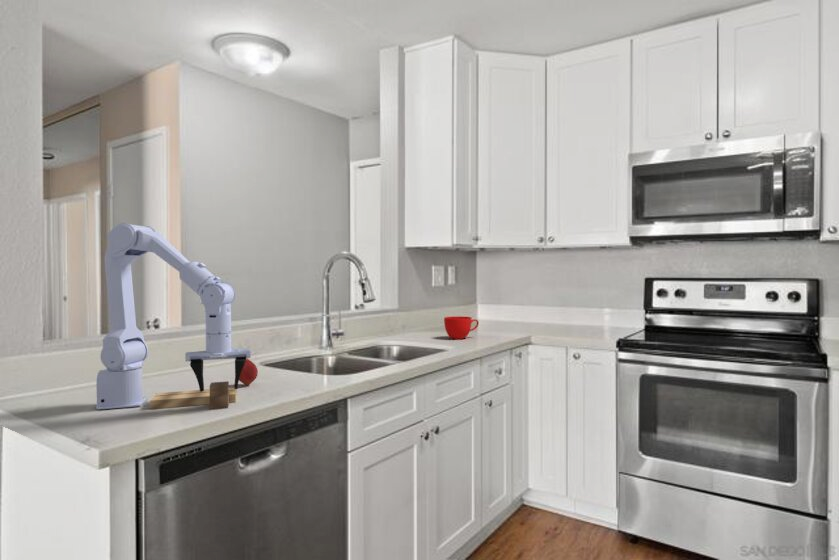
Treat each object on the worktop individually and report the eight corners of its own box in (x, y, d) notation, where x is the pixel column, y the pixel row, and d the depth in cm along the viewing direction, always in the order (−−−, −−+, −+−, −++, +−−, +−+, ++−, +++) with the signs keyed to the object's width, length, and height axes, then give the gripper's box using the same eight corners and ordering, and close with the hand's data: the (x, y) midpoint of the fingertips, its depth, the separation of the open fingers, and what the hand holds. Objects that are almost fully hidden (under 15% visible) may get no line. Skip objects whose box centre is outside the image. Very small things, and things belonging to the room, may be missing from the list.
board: (150, 409, 121) (149, 400, 121) (156, 401, 129) (156, 392, 129) (235, 402, 127) (235, 393, 127) (236, 394, 134) (236, 387, 134)
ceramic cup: (483, 339, 240) (483, 318, 240) (449, 341, 235) (449, 319, 235) (473, 336, 252) (473, 315, 252) (440, 337, 248) (440, 317, 248)
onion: (250, 382, 150) (250, 355, 150) (261, 385, 146) (261, 357, 146) (232, 385, 145) (231, 357, 145) (243, 388, 142) (243, 359, 142)
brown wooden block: (209, 409, 120) (209, 386, 120) (212, 400, 129) (212, 378, 129) (228, 408, 122) (227, 385, 121) (229, 399, 130) (229, 377, 130)
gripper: (183, 336, 117) (184, 395, 117) (250, 333, 121) (250, 390, 122) (187, 332, 124) (187, 388, 124) (250, 330, 128) (251, 384, 128)
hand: (219, 389), depth 123 cm, fingers open, 7 cm apart
